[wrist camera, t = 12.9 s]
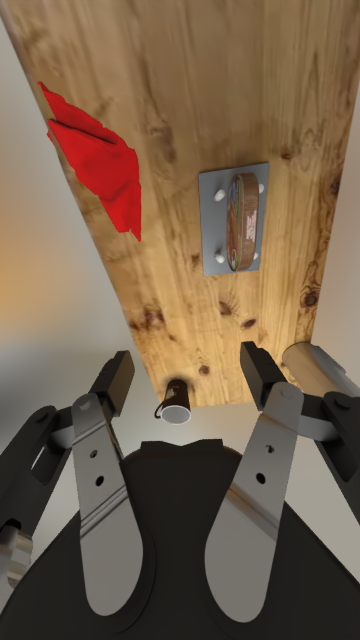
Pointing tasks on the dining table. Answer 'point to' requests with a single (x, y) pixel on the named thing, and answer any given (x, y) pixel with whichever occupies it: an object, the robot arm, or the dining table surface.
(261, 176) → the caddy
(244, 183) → the tin
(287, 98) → the dining table surface
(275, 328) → the dining table surface
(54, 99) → the cloth
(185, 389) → the coffee mug
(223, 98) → the dining table surface
